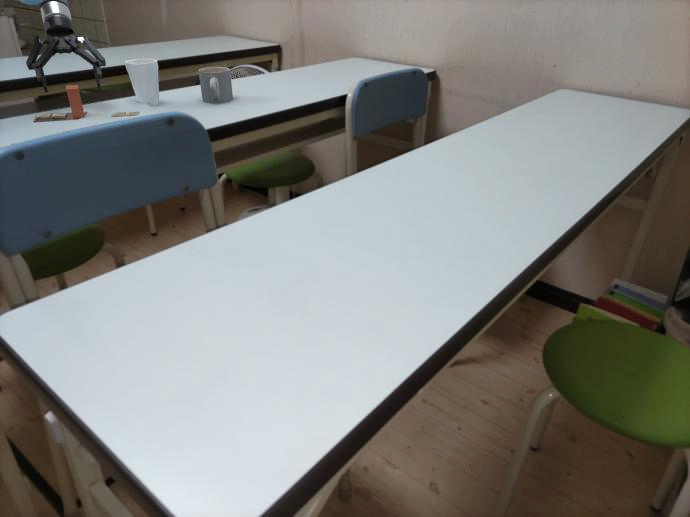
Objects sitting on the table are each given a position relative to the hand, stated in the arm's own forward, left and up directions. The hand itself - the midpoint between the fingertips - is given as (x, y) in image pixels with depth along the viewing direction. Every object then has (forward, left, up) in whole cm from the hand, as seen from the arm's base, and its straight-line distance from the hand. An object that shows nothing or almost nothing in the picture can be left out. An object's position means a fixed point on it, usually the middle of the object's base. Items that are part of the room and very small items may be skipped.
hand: (72, 88), depth 144 cm
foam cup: (+19, +12, -8) cm, 24 cm away
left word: (-4, -2, -8) cm, 10 cm away
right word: (+11, -4, -8) cm, 14 cm away
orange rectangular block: (0, -2, -7) cm, 8 cm away
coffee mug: (+40, +11, -8) cm, 42 cm away
